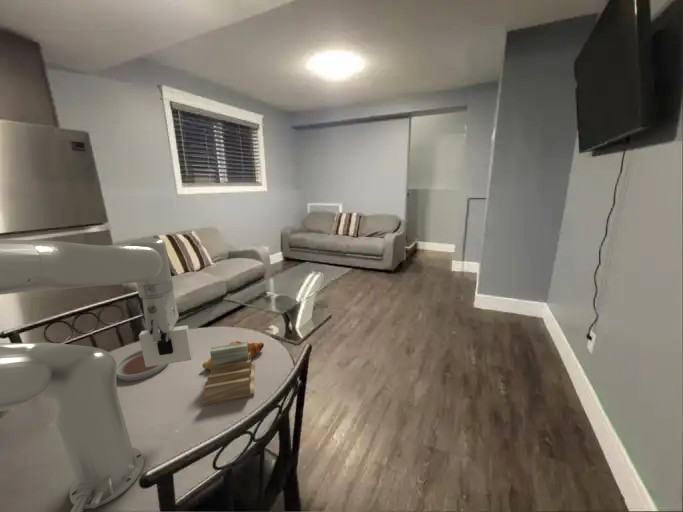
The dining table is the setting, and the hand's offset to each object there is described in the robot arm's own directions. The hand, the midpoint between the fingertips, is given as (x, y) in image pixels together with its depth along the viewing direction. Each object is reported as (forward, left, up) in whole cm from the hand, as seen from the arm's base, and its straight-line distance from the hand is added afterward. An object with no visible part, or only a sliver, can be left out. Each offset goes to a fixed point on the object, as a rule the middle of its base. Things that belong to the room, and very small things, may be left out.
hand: (167, 350), depth 77 cm
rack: (+5, -14, -18) cm, 23 cm away
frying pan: (+21, +21, -19) cm, 35 cm away
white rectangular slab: (0, 0, -3) cm, 3 cm away
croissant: (+18, -14, -18) cm, 29 cm away
